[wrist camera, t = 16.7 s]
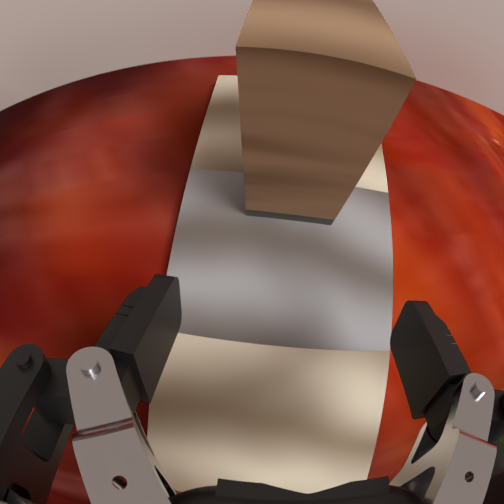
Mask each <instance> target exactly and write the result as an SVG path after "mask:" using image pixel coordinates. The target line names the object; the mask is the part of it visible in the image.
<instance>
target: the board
mask: <svg viewBox="0 0 504 504" xmlns="http://www.w3.org/2000/svg"><path fill="white" fill-rule="evenodd" d="M167 276H174V277H178V279H179V285H180V297H181V309H182V320H181V326H180V329H179V332H178V334H177V337H176V339H175V342H174V344H173V347H172V349H171V352H170V354H169V357H168V359H167V362H166V364H165V367H164V369H163V372H162V374H161V377H160V380H159V382H158V385H157V387H156V390H155V393H154V395H153V398H152V401H151V403H149V416H148V432H147V439H148V441H149V444H150V446H151V448H152V450H153V452H154V454H155V456H156V458H157V460H158V462H159V464H160V466H161V468H162V469H163V471H164V473H165V475H166V477H167V478H168V480H169V482H170V484H171V486H172V487H173V489H174V490H177V491H181V492H184V491H186V490H190V489H194V488H198V487H205V486H216V485H217V481H218V478H220V479H227V480H235V481H244V482H255V483H264V484H268V485H272V486H275V487H279V488H283V489H287V490H292V491H296V492H301V493H306V494H310V493H315V492H319V491H322V490H326V489H329V488H333V487H336V486H339V485H342V484H345V483H348V482H351V481H360V480H367V477H368V473H369V469H370V466H371V462H372V458H373V454H374V449H375V445H376V441H377V436H378V431H379V426H380V421H381V416H382V410H383V404H384V398H385V391H386V384H387V376H388V368H389V358H390V337H391V328H392V307H393V253H392V232H391V217H390V206H389V195H388V186H387V178H386V171H385V164H384V157H383V151H382V145H381V144H380V146H379V148H378V150H377V151H376V153H375V155H374V156H373V158H372V160H371V161H370V163H369V165H368V167H367V168H366V170H365V172H364V173H363V175H362V177H361V178H360V180H359V182H358V183H357V185H356V186H355V188H354V190H353V191H352V193H351V195H350V196H349V198H348V199H347V201H346V203H345V204H344V206H343V207H342V209H341V211H340V212H339V214H338V215H337V217H336V218H335V220H334V222H333V223H332V225H325V224H317V223H309V222H301V221H292V220H284V219H275V218H266V217H256V216H247V215H246V206H245V191H244V175H243V159H242V143H241V127H240V110H239V94H238V77H237V76H229V75H219V76H218V79H217V82H216V85H215V88H214V91H213V94H212V97H211V100H210V103H209V106H208V109H207V112H206V116H205V119H204V122H203V125H202V129H201V132H200V135H199V139H198V142H197V146H196V149H195V153H194V157H193V160H192V164H191V168H190V172H189V175H188V179H187V183H186V187H185V191H184V195H183V199H182V204H181V208H180V212H179V217H178V221H177V226H176V230H175V235H174V240H173V245H172V249H171V254H170V260H169V265H168V270H167Z"/></svg>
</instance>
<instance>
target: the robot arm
mask: <svg viewBox="0 0 504 504" xmlns="http://www.w3.org/2000/svg"><path fill="white" fill-rule="evenodd" d="M181 320H182V309H181V297H180V285H179V279H178V277H174V276H167V275H159V274H156V275H155V276H154V277H153V279H152V280H151V282H150V283H149V285H148V286H147V287H141V286H140V287H139V288H137V289H136V290H134V291H133V292H131V293H130V294H129V295H128V296H127V298H126V299H125V300H124V302H123V303H122V307H121V306H120V308H119V309H118V311H117V312H116V315H114V317H113V318H112V320H111V321H110V323H109V324H108V326H107V327H106V329H105V330H104V332H103V333H102V335H101V336H100V338H99V339H98V341H97V342H96V344H95V345H94V347H86V348H82V349H80V350H78V351H77V352H75V353H74V354H73V355H72V356H71V357H70V359H51V358H45V356H44V354H43V352H42V350H41V349H40V348H39V347H38V346H36V345H33V344H25V345H22V346H19V347H17V348H16V349H14V350H13V351H12V352H11V353H10V355H9V356H8V358H7V359H6V361H5V362H4V364H3V365H2V367H1V368H0V504H46V502H47V499H48V495H49V492H50V489H51V486H52V483H53V480H54V477H55V474H56V471H57V468H58V465H59V462H60V460H61V457H62V454H63V451H64V449H65V446H66V443H67V441H68V438H69V436H70V433H71V431H72V428H73V426H74V425H76V428H77V434H74V435H73V437H72V443H73V448H74V452H75V456H76V459H77V463H78V466H79V470H80V473H81V476H82V479H83V482H84V485H85V488H86V491H87V494H88V496H89V499H90V502H91V504H504V456H503V452H502V448H501V445H500V441H499V439H500V438H501V437H502V436H503V435H504V391H501V390H495V389H494V388H493V386H492V384H491V383H490V381H489V380H488V379H487V378H486V377H484V376H483V375H481V374H478V373H471V371H470V369H469V367H468V365H467V363H466V361H465V359H464V357H463V355H462V353H461V351H460V349H459V348H458V346H457V345H456V344H455V343H456V342H455V340H454V338H453V337H452V336H451V333H450V331H449V330H448V328H447V326H446V324H445V323H444V322H443V321H442V320H441V319H440V318H439V317H437V316H436V315H435V313H434V312H433V310H432V308H431V307H430V305H429V304H428V302H426V301H410V300H409V301H407V302H406V303H405V305H404V307H403V309H402V311H401V313H400V316H399V318H398V320H397V322H396V324H395V326H394V328H393V331H392V333H391V337H390V347H391V351H392V353H393V356H394V359H395V362H396V365H397V368H398V371H399V374H400V377H401V380H402V383H403V387H404V390H405V393H406V396H407V400H408V403H409V407H410V410H411V414H412V417H413V419H419V418H426V421H427V422H426V423H425V424H424V425H423V426H422V428H421V430H420V433H419V435H418V437H417V440H416V442H415V444H414V446H413V448H412V450H411V452H410V455H409V457H408V459H407V461H406V463H405V465H404V466H403V468H402V469H401V471H400V472H399V473H398V474H397V475H396V476H395V477H394V478H393V480H392V481H391V482H390V483H389V479H388V476H387V477H381V478H374V479H367V480H360V481H351V482H348V483H345V484H342V485H339V486H336V487H333V488H329V489H326V490H322V491H319V492H315V493H310V494H306V493H301V492H296V491H292V490H287V489H283V488H279V487H275V486H272V485H268V484H264V483H255V482H244V481H235V480H227V479H220V478H218V481H217V485H216V486H205V487H198V488H194V489H190V490H186V491H184V492H181V493H178V494H176V493H175V491H174V489H173V487H172V486H171V484H170V482H169V480H168V478H167V477H166V475H165V473H164V471H163V469H162V468H161V466H160V464H159V462H158V460H157V458H156V456H155V454H154V452H153V450H152V448H151V446H150V444H149V441H148V439H147V437H146V435H145V432H144V430H143V428H142V425H141V423H140V420H139V418H138V415H137V413H136V411H135V410H136V408H137V405H138V403H139V400H140V401H143V402H147V403H151V401H152V398H153V395H154V393H155V390H156V387H157V385H158V382H159V380H160V377H161V374H162V372H163V369H164V367H165V364H166V362H167V359H168V357H169V354H170V352H171V349H172V347H173V344H174V342H175V339H176V337H177V334H178V332H179V329H180V326H181ZM33 407H34V408H35V409H34V411H33V413H32V415H31V417H30V419H29V422H28V424H27V426H26V428H25V430H24V432H23V435H22V437H21V433H22V430H23V428H24V426H25V423H26V421H27V419H28V417H29V415H30V413H31V411H32V409H33Z"/></svg>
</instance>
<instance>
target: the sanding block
mask: <svg viewBox="0 0 504 504" xmlns="http://www.w3.org/2000/svg"><path fill="white" fill-rule="evenodd" d="M236 60H237V77H238V94H239V110H240V127H241V143H242V159H243V175H244V191H245V206H246V215H247V216H256V217H266V218H275V219H284V220H292V221H301V222H309V223H317V224H325V225H332V223H333V222H334V220H335V218H336V217H337V215H338V214H339V212H340V211H341V209H342V207H343V206H344V204H345V203H346V201H347V199H348V198H349V196H350V195H351V193H352V191H353V190H354V188H355V186H356V185H357V183H358V182H359V180H360V178H361V177H362V175H363V173H364V172H365V170H366V168H367V167H368V165H369V163H370V161H371V160H372V158H373V156H374V155H375V153H376V151H377V150H378V148H379V146H380V144H381V143H382V141H383V139H384V137H385V136H386V134H387V132H388V130H389V128H390V127H391V125H392V123H393V121H394V120H395V118H396V116H397V114H398V112H399V110H400V109H401V107H402V105H403V103H404V101H405V99H406V97H407V96H408V94H409V92H410V90H411V88H412V86H413V84H414V82H415V80H416V78H415V76H414V73H413V71H412V69H411V67H410V65H409V63H408V61H407V59H406V57H405V55H404V53H403V51H402V49H401V47H400V45H399V43H398V41H397V40H396V38H395V36H394V34H393V32H392V31H391V29H390V27H389V26H388V24H387V22H386V21H385V19H384V17H383V16H382V14H381V13H380V11H379V10H378V8H377V6H376V5H375V3H374V2H373V1H372V0H253V2H252V4H251V7H250V9H249V12H248V14H247V17H246V20H245V23H244V25H243V28H242V30H241V33H240V36H239V39H238V42H237V44H236Z"/></svg>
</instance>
